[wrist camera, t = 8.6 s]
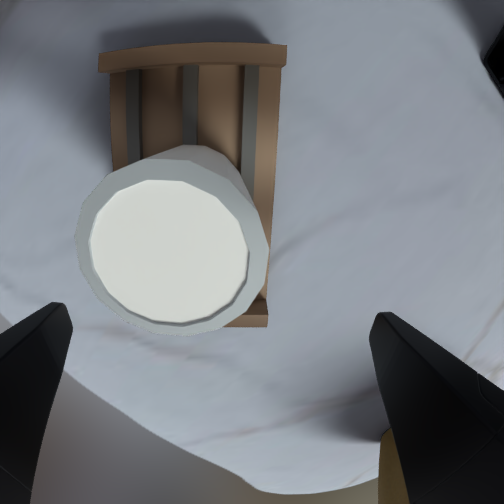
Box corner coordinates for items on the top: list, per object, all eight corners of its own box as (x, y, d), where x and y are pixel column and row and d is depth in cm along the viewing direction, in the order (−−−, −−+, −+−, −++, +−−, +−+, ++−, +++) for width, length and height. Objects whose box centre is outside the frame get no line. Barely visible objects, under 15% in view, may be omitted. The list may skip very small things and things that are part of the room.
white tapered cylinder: (145, 259, 18) (108, 341, 12) (119, 144, 15) (50, 180, 8) (261, 247, 18) (275, 331, 12) (250, 124, 15) (260, 143, 8)
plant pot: (349, 462, 38) (369, 550, 24) (366, 415, 31) (402, 535, 17) (432, 437, 38) (462, 513, 24) (466, 383, 31) (515, 477, 17)
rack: (118, 58, 14) (98, 53, 11) (278, 53, 14) (287, 45, 12) (137, 297, 21) (127, 323, 19) (263, 300, 22) (267, 327, 19)
